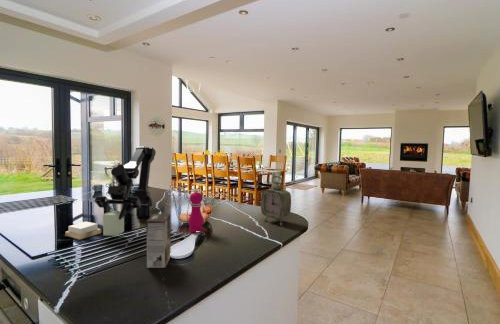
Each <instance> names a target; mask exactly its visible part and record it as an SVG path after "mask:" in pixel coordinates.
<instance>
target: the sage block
mask: <svg viewBox="0 0 500 324" xmlns="http://www.w3.org/2000/svg"><path fill="white" fill-rule="evenodd" d="M120 213H121V210H110V211H109V212H107V213H105V214H104V213H103V214H102V229H103V234H102V235H103V236H116V237H117V236H119V235H121V234H122V233H123V232H124V231H125V216H124V217H123V218H122V219H121V220H119V215H120Z"/></svg>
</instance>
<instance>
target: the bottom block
mask: <svg viewBox="0 0 500 324" xmlns="http://www.w3.org/2000/svg"><path fill="white" fill-rule="evenodd" d="M64 234H65V235H64V236H65V237H69V238H73V239H75V240H79V241H80V240H83V239H86V238H90V237H92V236H93V237H94V236H96V235H99V234H102V228H99V227H98V229H97V230H94V231H91V232H87V233H84V234H81V235H80V234H76V233H72V232H69V231H68V230H67V231H65V233H64Z"/></svg>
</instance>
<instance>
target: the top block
mask: <svg viewBox="0 0 500 324" xmlns="http://www.w3.org/2000/svg"><path fill="white" fill-rule="evenodd" d="M98 225H99V224H98V223H96V222H91V221H82V222H79V223H75V224H72V225H68V230H67V231H69V232H72V233H76V234H80V235H81V234H84V233H87V232H91V231H94V230H97V229H98V228H99V226H98Z"/></svg>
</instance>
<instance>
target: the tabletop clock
mask: <svg viewBox="0 0 500 324" xmlns="http://www.w3.org/2000/svg"><path fill="white" fill-rule="evenodd" d="M274 178H278V179H280V180H281V181H280V182H278V180H277V181H273V179H274ZM271 181H272V183H273V186H272V187H271V188H269V189H265V190H262V192H261V197H260V208H261V210H260V211H261V214H262V215H263V216H265V217H264V218H263V221H264V222H267V220H268V219H267V218H271V219H276V222H279V226H283V225H284V223H283V222H282V219H283V218H285V217H288V216H290V213H291V209H292V208H291V207H292V194H291V192H289V191H288V190H286V189H282V186H281V185H282V183H283V178H282V177H281V176H278V175H275V176H272V178H271Z"/></svg>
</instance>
